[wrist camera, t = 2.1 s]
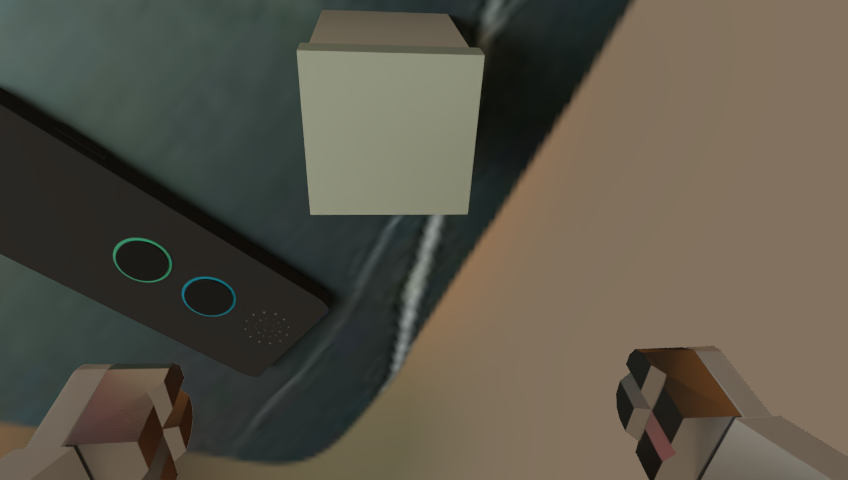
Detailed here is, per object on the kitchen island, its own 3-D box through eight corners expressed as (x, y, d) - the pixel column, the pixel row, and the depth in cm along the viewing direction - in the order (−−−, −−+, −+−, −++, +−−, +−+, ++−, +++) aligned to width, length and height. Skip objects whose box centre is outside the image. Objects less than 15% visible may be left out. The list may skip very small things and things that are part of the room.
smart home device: (254, 383, 34) (-104, 208, 25) (259, 363, 35) (-78, 191, 27) (334, 307, 31) (-38, 80, 22) (336, 289, 32) (-14, 68, 24)
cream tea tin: (317, 4, 23) (296, 50, 16) (452, 9, 24) (484, 55, 17) (325, 133, 26) (310, 214, 20) (443, 134, 27) (467, 214, 20)
